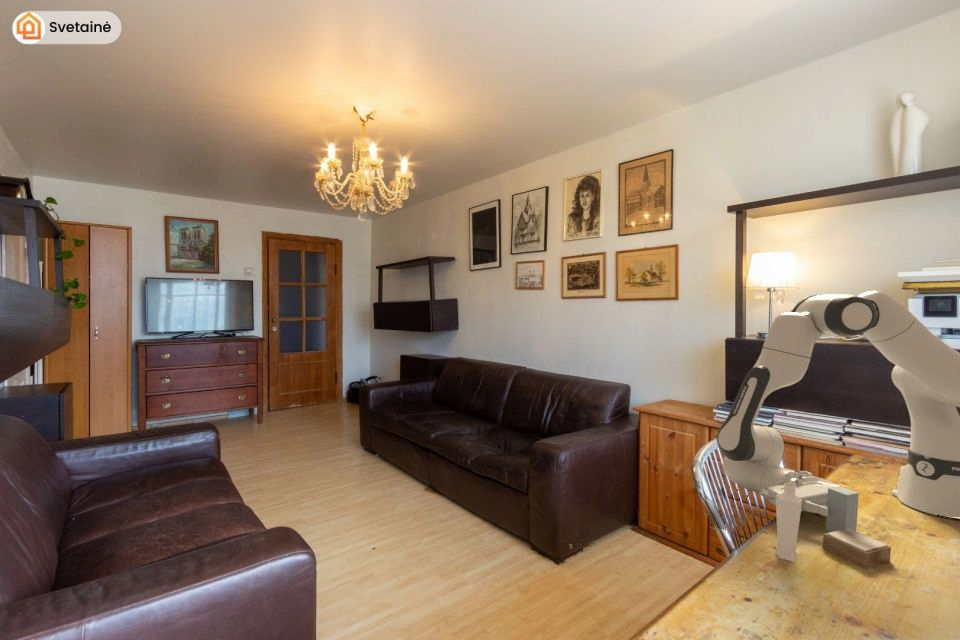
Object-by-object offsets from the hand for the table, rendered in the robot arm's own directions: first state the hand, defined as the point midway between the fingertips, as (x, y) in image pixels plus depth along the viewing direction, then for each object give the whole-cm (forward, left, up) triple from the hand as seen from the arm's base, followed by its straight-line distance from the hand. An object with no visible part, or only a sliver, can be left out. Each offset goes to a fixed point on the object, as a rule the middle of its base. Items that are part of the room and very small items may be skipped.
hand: (842, 509), depth 104 cm
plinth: (+7, +7, -6) cm, 11 cm away
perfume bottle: (+22, +3, -6) cm, 23 cm away
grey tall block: (0, 0, -6) cm, 6 cm away
